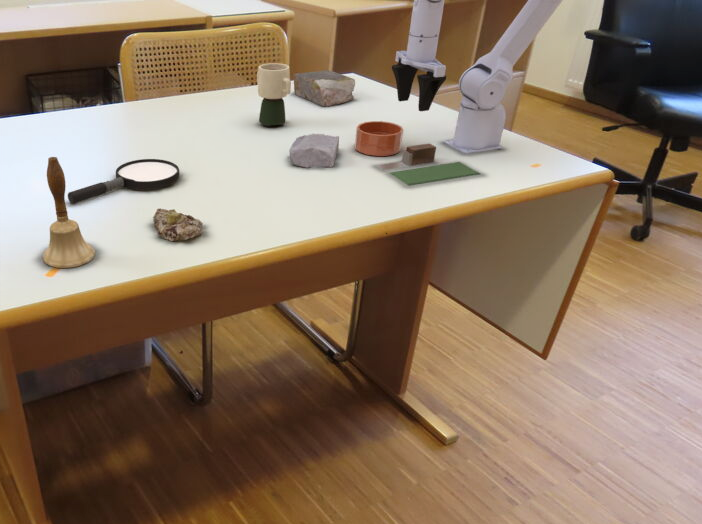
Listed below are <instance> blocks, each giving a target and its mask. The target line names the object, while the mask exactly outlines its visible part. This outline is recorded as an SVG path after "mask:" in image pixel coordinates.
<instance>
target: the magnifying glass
mask: <svg viewBox="0 0 702 524" xmlns="http://www.w3.org/2000/svg"><path fill="white" fill-rule="evenodd" d="M179 179H180V168H179V166H178V165H177V164H175V163H174V162H172V161H169V160H165V159H159V158H143V159H136V160H131V161H128V162H125V163H122V164H120V165H119V166H118V167H117V168H116V169H115V178H114V179H111V180H106V181H103V182H98V183H94V184H91V185H89V186H84V187H82V188H79V189H75V190H72V191H69V192H68V193H67V199H68V201H69V203H70V204H72V205H74V204H78V203H80V202H84V201H87V200H90V199H93V198H96V197H99V196H102V195H105V194H106V193H109V192H113V191H114V190H119V189H122V188H125V189H127V190H133V191H136V190H145V191H148V190H149V191H150V190H158V189H162V188H166V187H169V186H172V185H174V184H175V183H177V182H178V180H179Z"/></svg>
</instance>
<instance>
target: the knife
mask: <svg viewBox="0 0 702 524" xmlns="http://www.w3.org/2000/svg"><path fill="white" fill-rule="evenodd" d="M436 150H437V146H436V145H434V144H432V143H424V144H423V143H422V144H415V145H409V146H408V145H407V146H406V150H403V151H402V156H401V161H397V162H390V163H384V164H383V163H382V164H378V165H376V167H378V168H379V169H381V170H382V171H385V170H392V169H398V168H405V167H411V166H417V165H423V164H430V163H434V162H435V156H436Z"/></svg>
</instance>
